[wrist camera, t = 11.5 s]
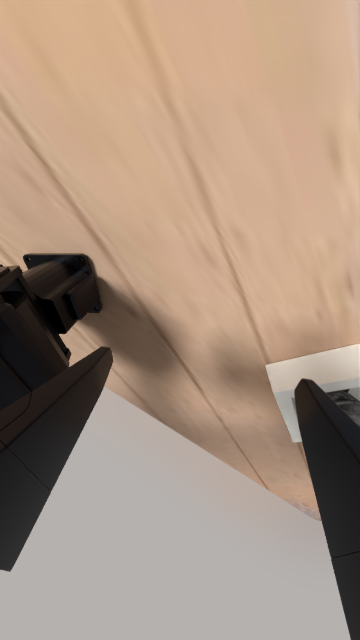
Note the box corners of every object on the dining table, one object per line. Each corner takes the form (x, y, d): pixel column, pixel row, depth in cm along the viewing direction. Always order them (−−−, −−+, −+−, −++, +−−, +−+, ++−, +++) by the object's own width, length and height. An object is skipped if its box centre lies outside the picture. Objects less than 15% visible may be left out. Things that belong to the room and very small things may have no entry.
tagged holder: (285, 415, 31) (294, 443, 28) (265, 364, 26) (272, 392, 22) (376, 402, 27) (398, 434, 24) (375, 339, 22) (404, 369, 18)
